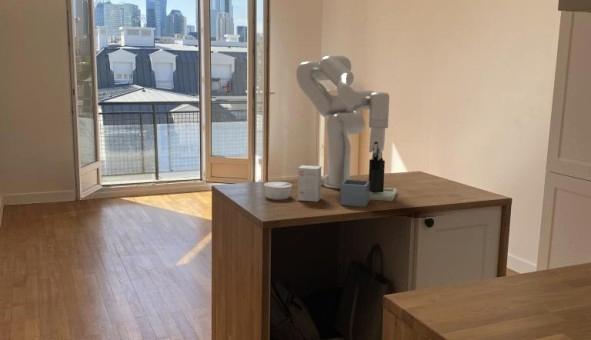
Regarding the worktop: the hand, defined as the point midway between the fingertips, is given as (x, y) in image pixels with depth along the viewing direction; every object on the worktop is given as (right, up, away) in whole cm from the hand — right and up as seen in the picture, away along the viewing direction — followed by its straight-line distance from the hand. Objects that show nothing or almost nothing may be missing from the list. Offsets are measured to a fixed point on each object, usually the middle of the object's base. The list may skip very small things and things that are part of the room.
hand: (376, 167), depth 241 cm
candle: (0, -10, +2) cm, 10 cm away
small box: (-27, -13, -6) cm, 31 cm away
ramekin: (-40, -12, -3) cm, 42 cm away
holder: (-10, -14, -11) cm, 20 cm away
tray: (0, -11, +2) cm, 11 cm away
